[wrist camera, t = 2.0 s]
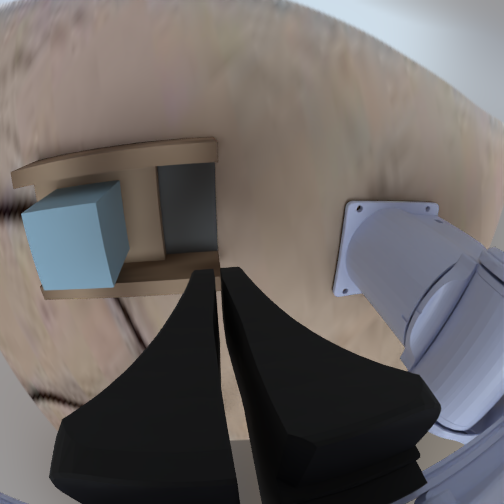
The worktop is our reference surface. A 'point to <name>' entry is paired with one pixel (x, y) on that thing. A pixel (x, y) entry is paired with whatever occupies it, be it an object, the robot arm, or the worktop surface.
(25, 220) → the blue block
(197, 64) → the worktop surface
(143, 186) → the walnut channel
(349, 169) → the worktop surface
